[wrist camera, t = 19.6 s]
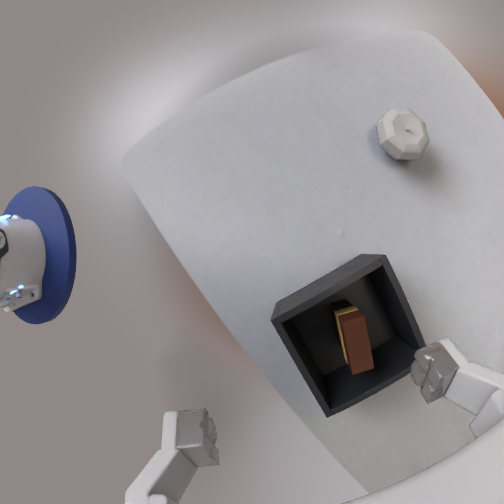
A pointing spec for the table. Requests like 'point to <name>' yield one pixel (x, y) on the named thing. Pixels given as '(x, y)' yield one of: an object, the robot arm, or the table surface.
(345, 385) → the waste bin
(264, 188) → the table surface
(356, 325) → the chocolate bar
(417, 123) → the apple
